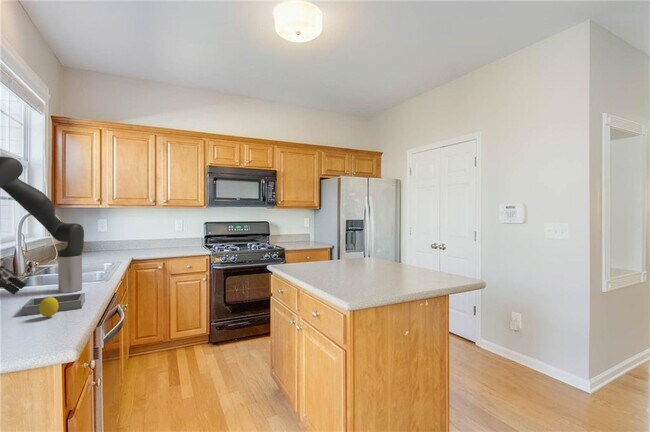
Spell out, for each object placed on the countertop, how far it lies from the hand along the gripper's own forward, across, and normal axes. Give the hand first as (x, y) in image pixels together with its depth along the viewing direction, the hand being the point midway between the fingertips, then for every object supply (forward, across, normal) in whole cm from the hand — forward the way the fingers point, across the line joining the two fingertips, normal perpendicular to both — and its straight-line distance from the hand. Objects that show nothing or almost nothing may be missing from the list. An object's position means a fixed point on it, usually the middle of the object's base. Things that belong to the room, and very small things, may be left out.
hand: (20, 289), depth 116 cm
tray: (+14, +14, +3) cm, 19 cm away
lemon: (+14, 0, +3) cm, 14 cm away
